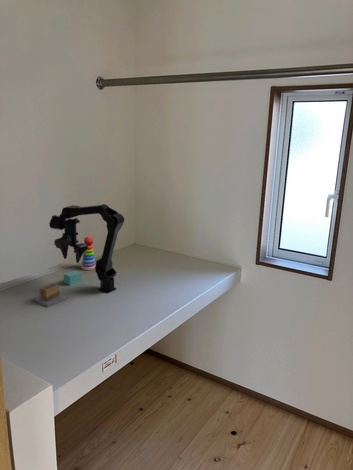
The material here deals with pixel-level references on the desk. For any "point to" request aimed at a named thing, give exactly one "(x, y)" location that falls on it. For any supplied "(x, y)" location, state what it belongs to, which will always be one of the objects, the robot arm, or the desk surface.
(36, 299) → the baseplate
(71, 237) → the robot arm
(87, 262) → the stacking toy
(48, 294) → the walnut brick
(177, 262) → the desk surface
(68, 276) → the teal brick
